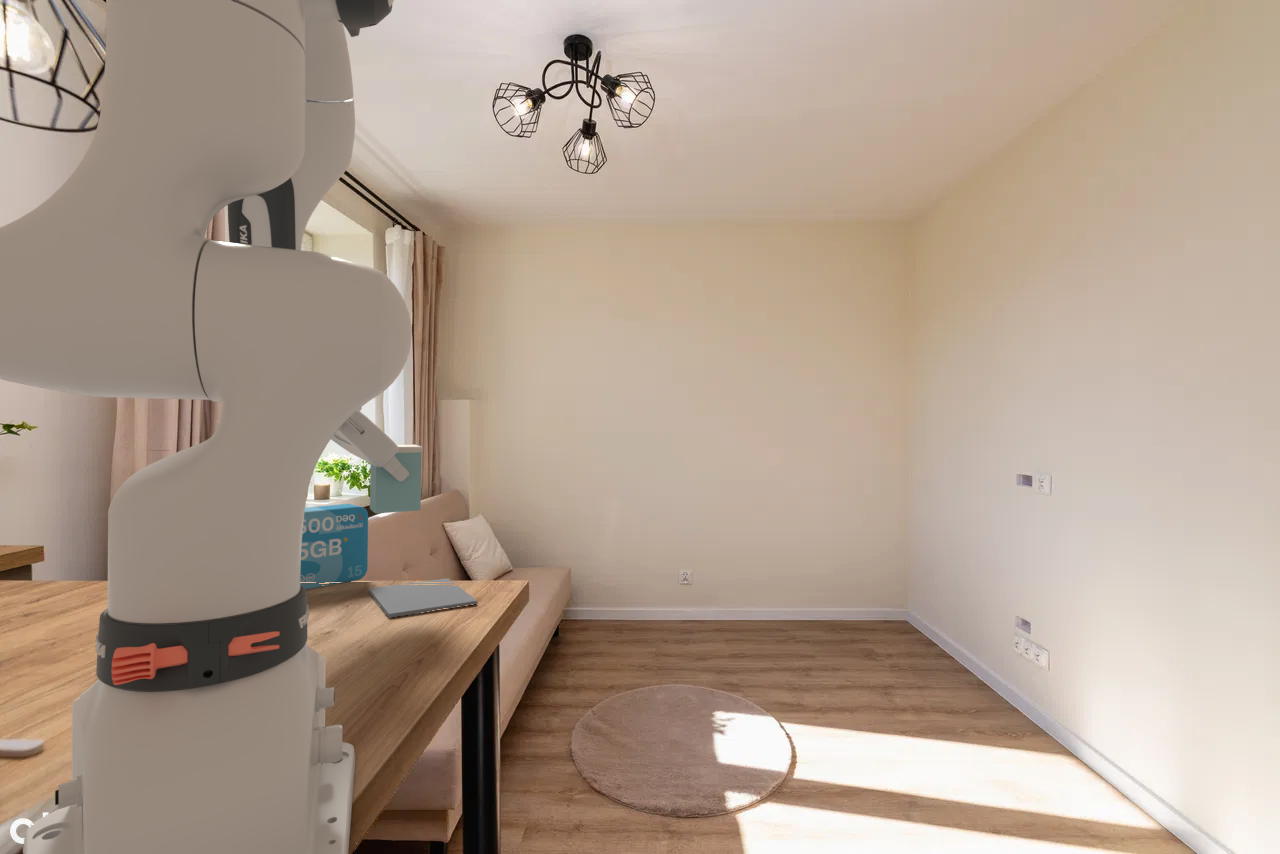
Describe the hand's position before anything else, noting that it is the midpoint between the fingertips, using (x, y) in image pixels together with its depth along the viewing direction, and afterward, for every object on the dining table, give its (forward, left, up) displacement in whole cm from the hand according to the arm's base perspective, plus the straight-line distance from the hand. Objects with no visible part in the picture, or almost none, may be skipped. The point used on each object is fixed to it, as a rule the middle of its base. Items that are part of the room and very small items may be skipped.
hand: (400, 475), depth 89 cm
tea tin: (0, +1, -5) cm, 5 cm away
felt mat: (+1, -3, -18) cm, 19 cm away
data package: (+17, +8, -19) cm, 26 cm away
